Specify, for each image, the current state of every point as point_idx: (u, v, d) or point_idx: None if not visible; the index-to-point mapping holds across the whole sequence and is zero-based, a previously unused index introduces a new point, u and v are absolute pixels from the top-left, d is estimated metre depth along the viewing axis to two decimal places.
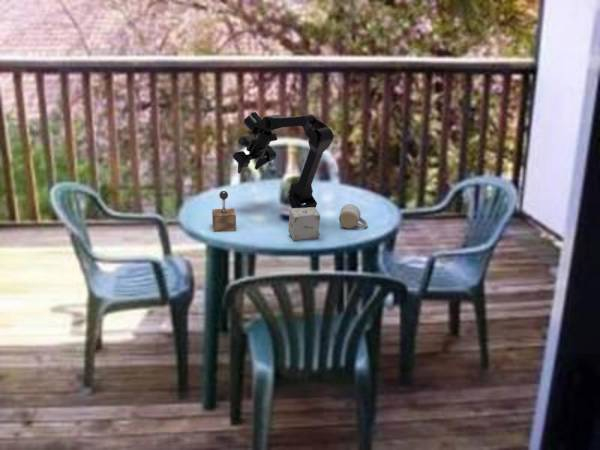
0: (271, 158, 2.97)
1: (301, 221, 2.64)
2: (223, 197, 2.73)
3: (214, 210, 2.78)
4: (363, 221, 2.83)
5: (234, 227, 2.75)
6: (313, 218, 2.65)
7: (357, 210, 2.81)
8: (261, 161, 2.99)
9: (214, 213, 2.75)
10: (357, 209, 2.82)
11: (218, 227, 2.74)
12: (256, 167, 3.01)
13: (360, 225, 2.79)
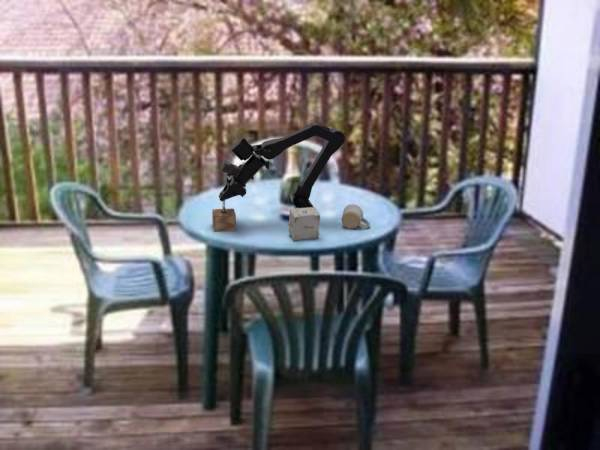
0: None
1: (301, 221, 2.64)
2: None
3: (214, 210, 2.78)
4: (366, 221, 2.83)
5: (234, 227, 2.75)
6: (313, 218, 2.65)
7: (360, 210, 2.81)
8: None
9: (214, 213, 2.75)
10: (360, 209, 2.82)
11: (218, 227, 2.74)
12: None
13: (363, 225, 2.79)
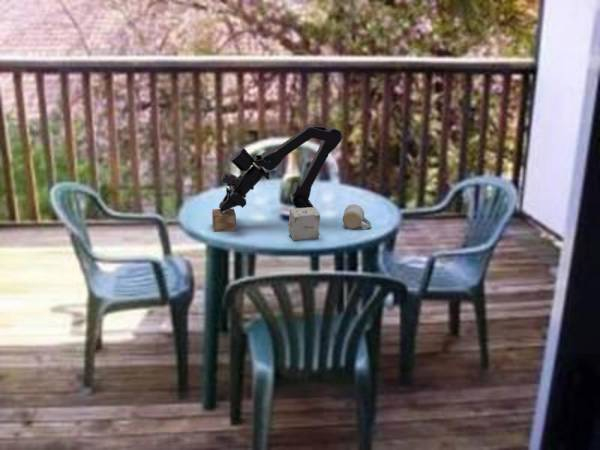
0: None
1: (301, 221, 2.64)
2: None
3: (214, 210, 2.78)
4: (367, 221, 2.83)
5: (234, 227, 2.75)
6: (313, 218, 2.65)
7: (361, 210, 2.81)
8: None
9: (214, 213, 2.75)
10: (361, 209, 2.82)
11: (218, 227, 2.74)
12: None
13: (364, 225, 2.79)
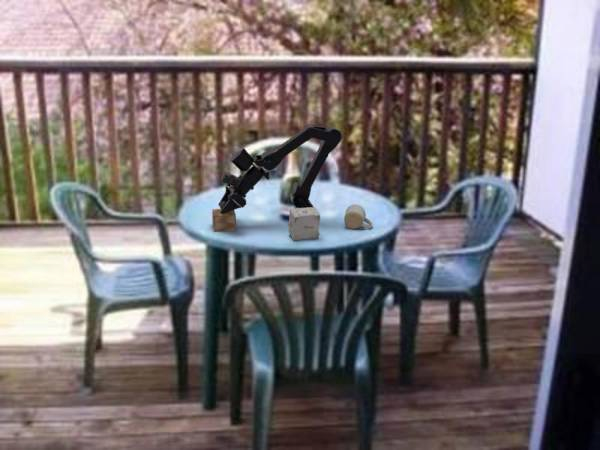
0: None
1: (301, 221, 2.64)
2: None
3: (214, 210, 2.78)
4: (368, 221, 2.83)
5: (234, 227, 2.75)
6: (313, 218, 2.65)
7: (362, 210, 2.81)
8: (229, 197, 2.80)
9: (214, 213, 2.75)
10: (362, 209, 2.82)
11: (218, 227, 2.74)
12: None
13: (365, 225, 2.79)
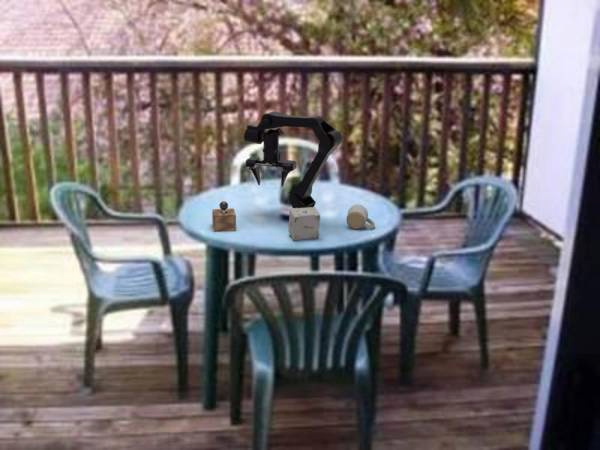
0: (285, 168, 2.79)
1: (301, 221, 2.64)
2: (223, 208, 2.74)
3: (214, 210, 2.78)
4: (371, 221, 2.83)
5: (234, 227, 2.75)
6: (313, 218, 2.65)
7: (365, 210, 2.81)
8: None
9: (214, 213, 2.75)
10: (365, 209, 2.82)
11: (218, 227, 2.74)
12: None
13: (367, 225, 2.78)
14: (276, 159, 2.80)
